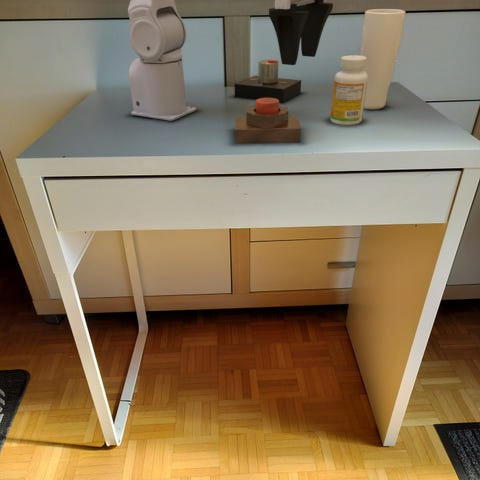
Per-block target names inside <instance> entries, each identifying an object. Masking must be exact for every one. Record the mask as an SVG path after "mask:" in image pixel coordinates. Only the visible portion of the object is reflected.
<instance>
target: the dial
mask: <svg viewBox="0 0 480 480" xmlns="http://www.w3.org/2000/svg"><path fill="white" fill-rule="evenodd" d="M257 62H258V69H257V71H258V73H257V76H258V82H259V83H263V84H273V83H277V82H278V78H279V65H280V64H279V60H278V59H262V60H259V61H257Z"/></svg>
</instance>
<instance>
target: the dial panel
mask: <svg viewBox="0 0 480 480" xmlns="http://www.w3.org/2000/svg"><path fill="white" fill-rule="evenodd" d="M301 91H302V79H293V78H282V77H278V82H277V83H273V84H263V83H259V82H258V75H252V76H250V77H248V78H245V79H243V80H240V81H237V82H236V83H234V97H235V98H240V99H247V100H248V99H249V100H255V101H256V100H257V99H260V98H275V99H278V100H279V104H280V103H281V104H284V103H286V102H287V101H290V100H291V99H293V98H295V97H296V96H299V95H300V94H301Z"/></svg>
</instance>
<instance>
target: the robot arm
mask: <svg viewBox="0 0 480 480" xmlns="http://www.w3.org/2000/svg"><path fill="white" fill-rule="evenodd" d="M333 8H334V3H333V2H327V0H274V7H271V8H268V17H269V19H270V21H271V23H272V26H273V29H274V32H275V35H276V40H277V43H278V50H279V55H280V61H281V65H285V66H295V65H296V64H297V62H298V57H299V51H301V56H302V57H310V58H315V57H316V55H317V51H318V48H319V45H320V41H321V38H322V34H323V31H324V28H325V25H326V23H327V20H328V18H329V16H330V15H331V13H332V12H333ZM127 13H128V14H127V15H128V18H129V43H130V44H131V47H132V49H133V51H134V53H135V54H136V55H138V57H136V58H135V59H134V60H132V61H131V62H130V65H129V69H128V82H129V89H130V94H131V99H132V100H131V101H132V107H133V110H132V111H130V114H131V115H132V116H138V117H144V118H150V119H157V120H163V121H169V122H172V121H176V120H177V119H180V118H182V117H184V116H187V115H189V114H191V113H193V112H196V111H197V107H194V106H187V99H186V87H185V76H184V75H185V74H184V73H185V72H184V63H183V62H184V61H183V54H182V48H183V47H184V45H185V43H186V39H187V29H186V25H185V22H184V20H183V19H182V17H181V16H180V15H179V12H178V10H177V6H176V1H175V0H130V2H129V4H128V8H127Z"/></svg>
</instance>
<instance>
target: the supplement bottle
mask: <svg viewBox="0 0 480 480" xmlns="http://www.w3.org/2000/svg"><path fill="white" fill-rule="evenodd" d="M365 65H366V57H364V56H360V55H357V54H355V55H354V54H352V55H350V54H349V55H344V56H341V57H340V62H339V67H340V71H337V72H336V73H335V75H334V79H333V89H332V97H331V98H332V99H331V110H330V121H331V122H332V123H333V124H337V125H341V126H342V125H343V126H352V125H354V126H355V125H358V124H360V123H361V122H362V121H363V116H364V102H365V95H366V88H367V81H368V75H367V73H365V72H364V71H363V68H365Z"/></svg>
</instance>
